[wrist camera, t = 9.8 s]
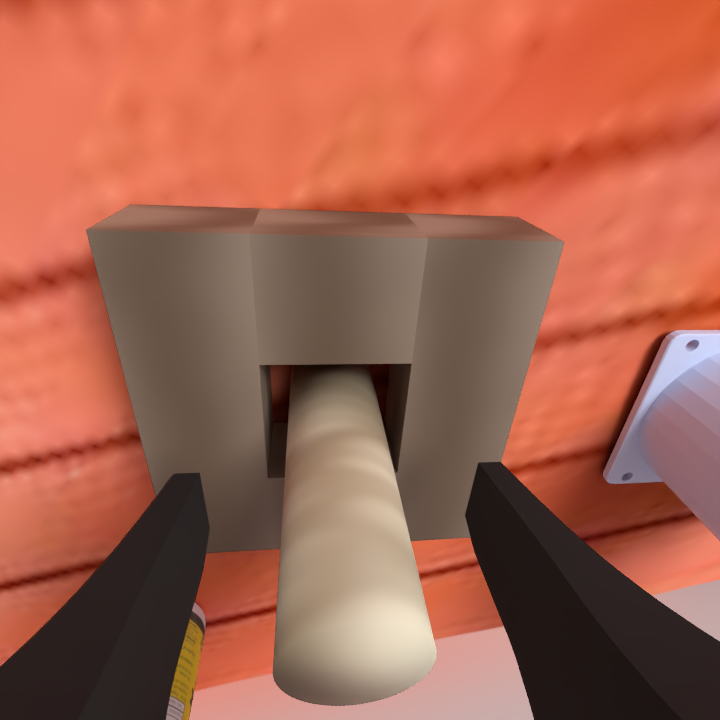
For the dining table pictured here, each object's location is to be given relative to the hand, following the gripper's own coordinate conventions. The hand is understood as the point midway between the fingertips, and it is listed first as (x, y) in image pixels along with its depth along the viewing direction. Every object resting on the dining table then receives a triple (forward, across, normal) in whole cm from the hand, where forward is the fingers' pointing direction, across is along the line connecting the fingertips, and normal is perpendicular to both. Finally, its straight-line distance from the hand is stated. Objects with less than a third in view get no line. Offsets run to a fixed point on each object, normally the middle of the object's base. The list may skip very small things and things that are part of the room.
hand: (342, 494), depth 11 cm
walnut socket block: (+6, 0, 0) cm, 6 cm away
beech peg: (+6, 0, 0) cm, 6 cm away
